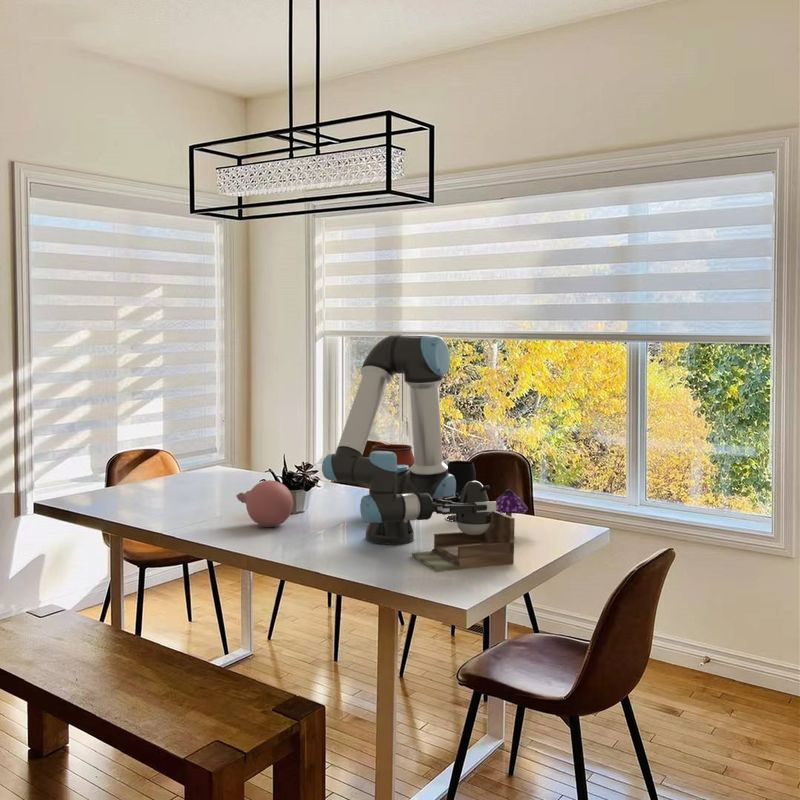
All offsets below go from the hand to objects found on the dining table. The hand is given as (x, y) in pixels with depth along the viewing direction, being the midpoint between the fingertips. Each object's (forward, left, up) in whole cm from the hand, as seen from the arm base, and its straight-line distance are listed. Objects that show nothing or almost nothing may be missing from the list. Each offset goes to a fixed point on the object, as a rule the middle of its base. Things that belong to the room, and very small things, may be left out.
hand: (487, 502), depth 245 cm
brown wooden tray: (0, -8, -16) cm, 18 cm away
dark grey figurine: (0, -5, -9) cm, 10 cm away
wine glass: (-49, +16, -16) cm, 54 cm away
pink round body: (-61, -51, -16) cm, 82 cm away
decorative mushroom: (-22, +20, -16) cm, 34 cm away
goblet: (-62, -5, -16) cm, 65 cm away
